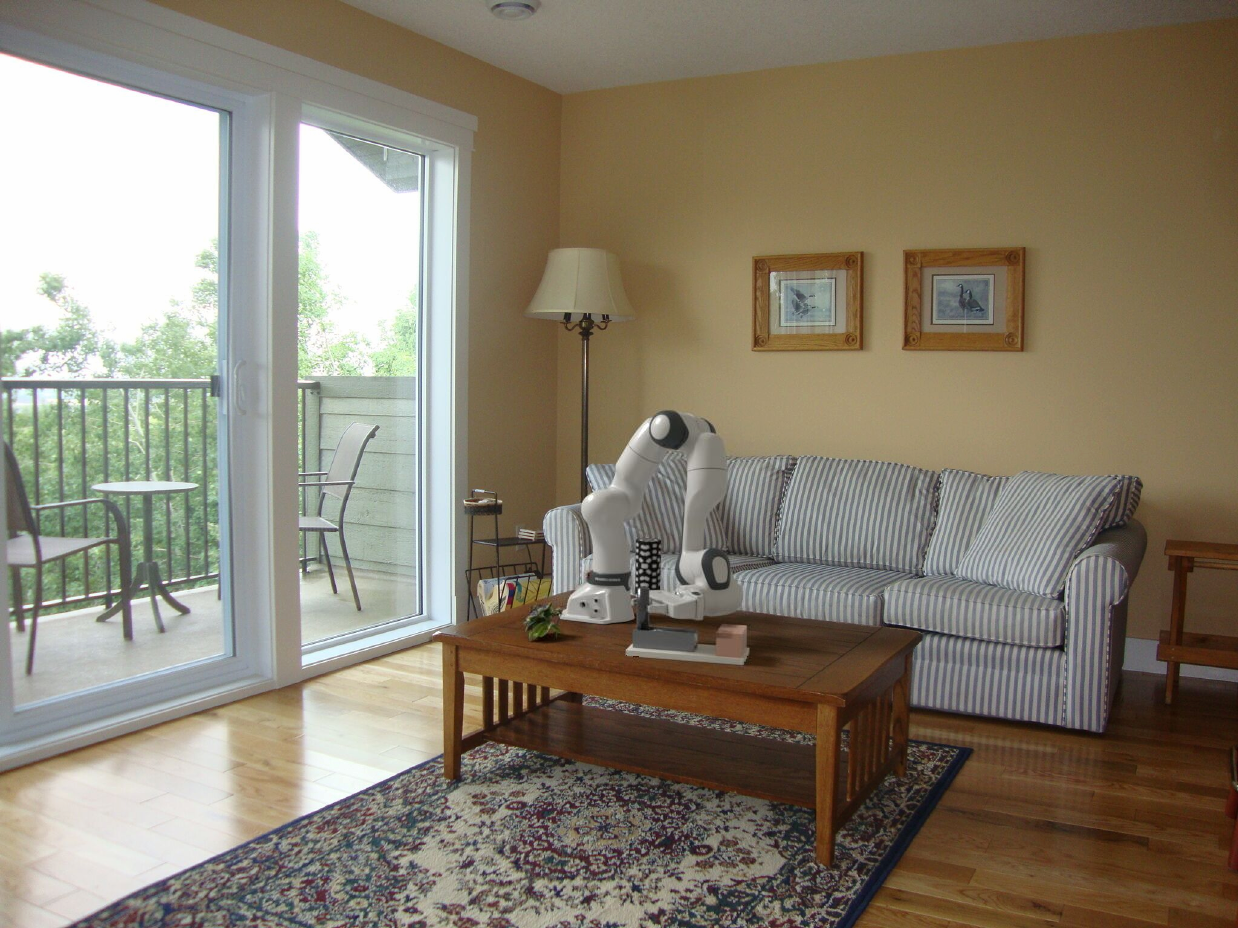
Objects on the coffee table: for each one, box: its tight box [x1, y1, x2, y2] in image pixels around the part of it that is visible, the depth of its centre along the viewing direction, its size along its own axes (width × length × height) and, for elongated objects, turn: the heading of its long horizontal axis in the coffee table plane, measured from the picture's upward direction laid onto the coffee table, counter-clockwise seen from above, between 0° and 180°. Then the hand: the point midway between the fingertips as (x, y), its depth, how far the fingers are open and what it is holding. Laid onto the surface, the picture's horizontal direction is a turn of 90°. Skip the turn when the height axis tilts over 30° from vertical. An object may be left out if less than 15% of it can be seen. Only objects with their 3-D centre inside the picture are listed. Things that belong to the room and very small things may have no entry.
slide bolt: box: [636, 587, 697, 646], centre depth 260 cm, size 16×3×14 cm, turn 76°
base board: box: [625, 642, 750, 666], centre depth 259 cm, size 30×12×2 cm, turn 76°
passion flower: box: [523, 601, 563, 642], centre depth 276 cm, size 11×11×12 cm
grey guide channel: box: [632, 625, 699, 652], centre depth 261 cm, size 16×6×5 cm, turn 76°
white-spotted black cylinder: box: [634, 537, 662, 598], centre depth 327 cm, size 8×8×20 cm
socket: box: [715, 623, 748, 658], centre depth 256 cm, size 6×10×6 cm, turn 166°
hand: (640, 605), depth 261 cm, fingers open, 7 cm apart
